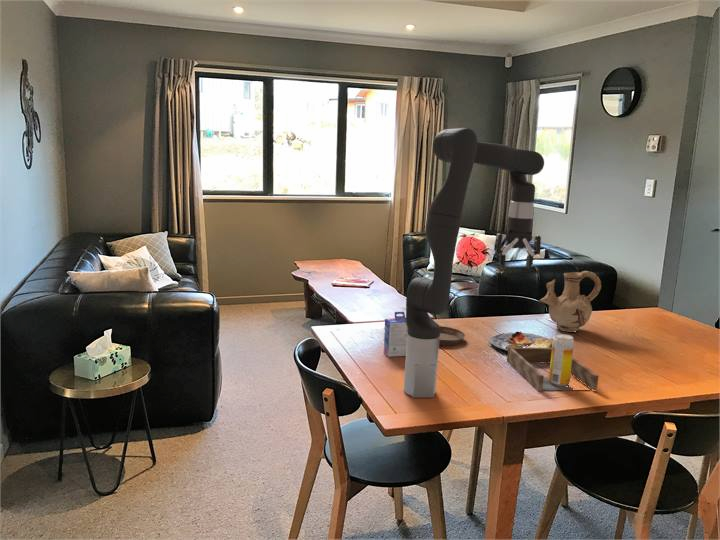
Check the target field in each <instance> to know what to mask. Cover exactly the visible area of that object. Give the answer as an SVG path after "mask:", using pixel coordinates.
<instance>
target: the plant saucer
mask: <svg viewBox="0 0 720 540" xmlns="http://www.w3.org/2000/svg"><path fill="white" fill-rule="evenodd" d="M439 326H440V341H439V346H454V345H455V346H456V345H457V344H460V343H461V342H462V341H463V340H464V338H465V337H466V334H465V333H464V331H461V330H459V329H456V328H453V327H449V326H442V325H439Z"/></svg>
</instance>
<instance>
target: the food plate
mask: <svg viewBox="0 0 720 540" xmlns="http://www.w3.org/2000/svg"><path fill="white" fill-rule="evenodd" d="M488 342H489V343H490V344H491V345H493V346H495V347H496V348H498V349H500V350H504V351H505V352H508V347H511V348H523V347H525V348H552V343H553V338H547V337H545V336H543V335H542V336H541V335H537V334H534V333H533V334H532V333H525V332H522V331H515V332H502V333H499V334H496V335H495V336H492V337H490V338H489V339H488ZM503 345H504V346H505V348H504V347H503ZM527 345H530V346H527Z"/></svg>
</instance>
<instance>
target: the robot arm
mask: <svg viewBox="0 0 720 540" xmlns="http://www.w3.org/2000/svg"><path fill="white" fill-rule="evenodd" d="M432 149H433V154H434V155H435V157H436V158H437V159H438V160H439V161H441V162H442V163H443V162H444V163H450V165H449V170H448V174H447V177H446V178H445V180H444V182H443V185H442V186H441V188H440V189H439V191H438V192H437V193H436V195H435V196H434V198H433V199H432V201H431V203H430V205H429V207H428V213H427V218H426V221H425V222H426V223H425V230H424V232H425V236H426V239H427V243H428V246H429V248H430V251H431V254H432V257H433V262H434V263H433V268H434V269H433V278H432V279H429V278H425V277H421V276H418V277H414V278H412V280H411V281H410V282H409V284H408V286H407V289H406V297H405V318H406V325H407V328H408V331H407V345H406V356H405V362H404V363H405V364H404V376H403V377H404V378H403V379H404V380H403V392H404V393H405V394H407V395H409V396H411V397H412V399H413V398H415V399H416V398H424V399H425V398H434V397H435V394H436V393H437V392H436V390H437V378H438V377H437V376H438V366H439V365H438V363H439V354H440V353H439V350H440V345H439V341H440V326H441V325H440V324H439V323H437V322H436V321H435V320H434V319H433V318H432V317H431V316H430V315H429V314H433V315H436V316H437V315H442V314H443V313H444V312H445V310H446V309H447V307H448V305H449V301H450V295H451V289H452V288H451V287H452V279H453V278H452V277H453V267H454V258H455V252H456V248H457V247H456V246H457V243H458V242H457V241H458V236H459V232H460V229H461V222H462V216H463V210H464V204H465V199H466V195H467V190H468V185H469V181H470V178H471V173H472V171H473V167H474V164H476V165H481V166H485V167H489V168H493V169H496V170H497V169H498V170H501V171H502V170H503V171H509V178H510V179H509V180H510V185H511V193H510V195H511V196H510V203H509V208H508V214H507V215H508V217H507V225H506V233H505V234H503V233H502V234H501V233H499V232H498V233H496V235H495V242H494V247H493V251H494V252H495V253H497V254H499V258H498V265H500V267H503V268H504V267H505V265H506V258H507V257H506V254H507V253H508V252H509V251H510V250H511V249H521V250H525V251H526V253H527V255H526V261H525V267H526V268H527V269H529V268H531V267H532V266H533V263H534V257H535V256H537V255H540V254H541V243H542V237H541V235H538V234H535V235H532V232H533V231H532V229H533V220H534V213H535V212H534V211H535V210H534V209H535V207H534V206H535V203H534V202H535V194H536V186H535V184H533V183H531V182H529V181H528V180H527V178H526V176H527V175H528V176H535V175H537V174H539V173H541V172H542V170H543V169H544V166H545V159H544V157H543V155H542V154H541V153H540V152H538V151H534V150H531V149H529V150H527V149H522V148H521V149H519V148H515V147H513V146H508V145H505V144H502V143H501V144H500V143H494V142H493V143H492V142H486V141H485V142H484V141H482V142H481V141H478V137H477V133H476V132H475V131H474V129H472V128H468V127H461V128H459V127H458V128H446V129H443V130H441V131H439V132H438V133H437V134H436V135H435V137H434V139H433V143H432ZM504 240H506V242H505V243H504V245H503V247H502V243H503V241H504ZM531 241H532V242H533V249H532V247H531V245H530V242H531Z"/></svg>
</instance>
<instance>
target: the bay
mask: <svg viewBox="0 0 720 540" xmlns="http://www.w3.org/2000/svg"><path fill="white" fill-rule="evenodd" d="M551 352H552V348H511V347H508V351H507V355H506V357H507V358H506V362H507V364H509V365H510V366H511V367H512V368H513V369H514V370H515V371H516V373H518V374H519V375H520V376H521V377H522V378H523V379H524V380H526V382H528V384H530V386H532V387H533V388H534V389H535V390H536V392H538V393H541V392H551V391H552V392H556V391H555V390H573V388H571V387H569V385H568V384H567V386H568V387H566V386H556V385H553V384H551V383H550V381H549V376H544V375H543V374H542V373H541V372H540V371H539V370H538V369H537V368H536V367H534V366H533V365H532V364H548V363H547V362H550V361H551ZM541 362H542V363H541ZM543 362H544V363H543ZM545 362H546V363H545ZM571 374H572V375H571ZM571 374H570V375H571V376H570V378H571V377H572V376H573V375H574V376H575V377H576V378H578V379H579V380H581V381H582V382H583V383H585V384H586V385H587V386H589V387H590V388H591V389H593V390H597V391H598V383H599V378H600V377H599V375H598V374H597V373H596V372H594V371H593V370H592V369H590V368H588V367H587V366H586V365H585V364H583V363H582V362H580V361H579V360H578V359H577V358H575V357H573V356H572V364H571ZM574 376H573V377H574ZM578 379H577V380H578ZM583 383H582V384H583Z"/></svg>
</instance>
